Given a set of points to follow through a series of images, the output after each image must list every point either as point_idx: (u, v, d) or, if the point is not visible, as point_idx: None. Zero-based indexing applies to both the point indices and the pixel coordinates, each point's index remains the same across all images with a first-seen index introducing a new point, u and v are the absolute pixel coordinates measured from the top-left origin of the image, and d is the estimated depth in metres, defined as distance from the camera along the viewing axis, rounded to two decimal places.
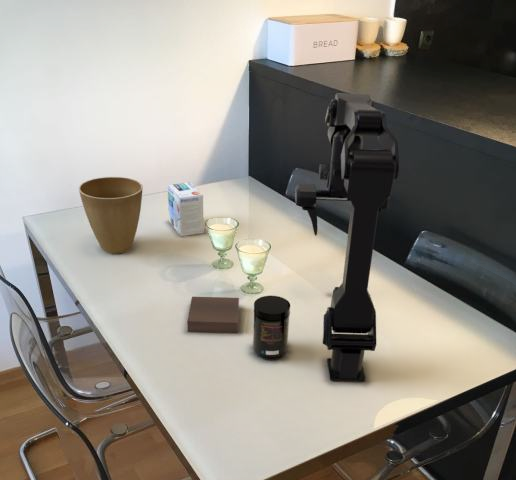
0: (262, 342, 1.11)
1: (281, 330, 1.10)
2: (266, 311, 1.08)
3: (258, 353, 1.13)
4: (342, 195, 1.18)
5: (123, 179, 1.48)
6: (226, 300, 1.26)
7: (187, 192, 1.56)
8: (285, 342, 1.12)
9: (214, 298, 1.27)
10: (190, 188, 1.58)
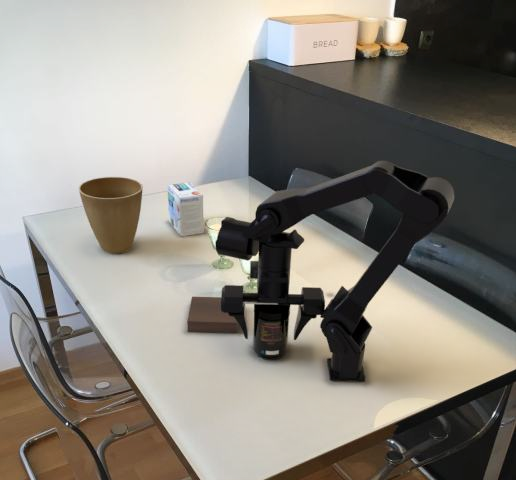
0: (262, 342, 1.11)
1: (281, 330, 1.10)
2: (266, 311, 1.08)
3: (258, 353, 1.13)
4: (271, 301, 1.06)
5: (123, 179, 1.48)
6: None
7: (187, 192, 1.56)
8: (285, 342, 1.12)
9: (214, 298, 1.27)
10: (190, 188, 1.58)
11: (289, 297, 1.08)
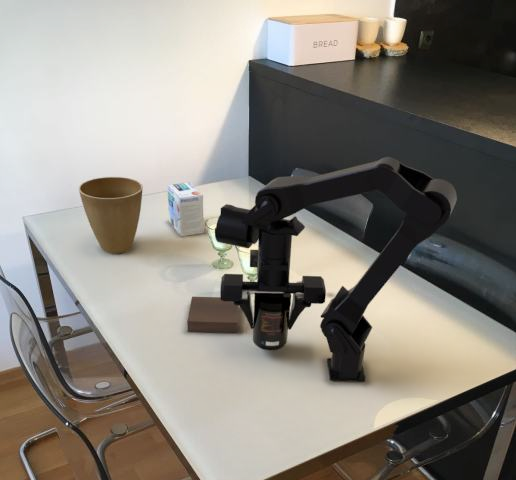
0: (262, 333, 1.10)
1: (281, 320, 1.09)
2: (266, 301, 1.06)
3: (258, 344, 1.12)
4: (271, 289, 1.05)
5: (123, 179, 1.48)
6: None
7: (187, 192, 1.56)
8: (285, 333, 1.11)
9: (214, 298, 1.27)
10: (190, 188, 1.58)
11: (289, 286, 1.07)
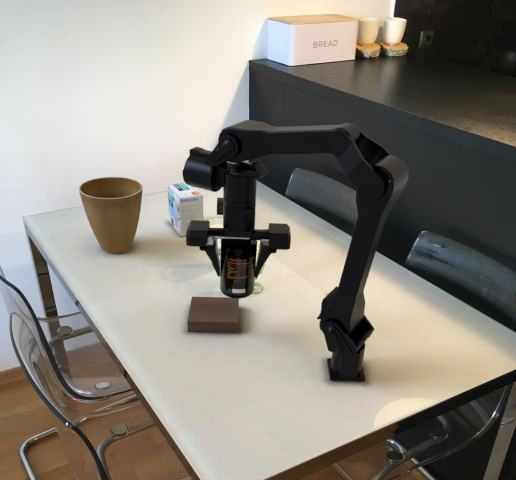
0: (229, 280, 1.10)
1: (247, 267, 1.09)
2: (232, 247, 1.07)
3: (225, 292, 1.12)
4: (236, 234, 1.05)
5: (123, 179, 1.48)
6: (226, 300, 1.26)
7: (187, 192, 1.56)
8: (252, 281, 1.12)
9: (214, 298, 1.27)
10: (190, 188, 1.58)
11: (255, 232, 1.08)
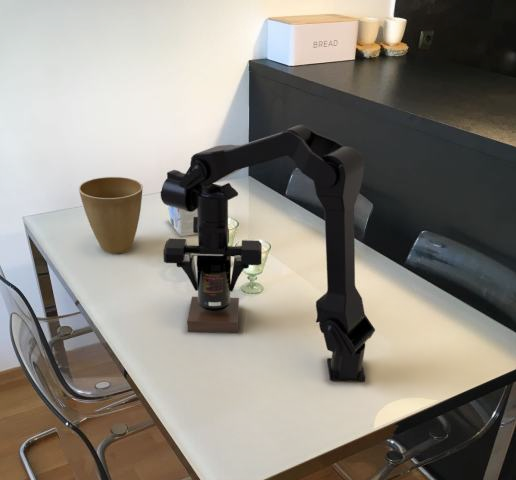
0: (205, 294, 1.18)
1: (222, 282, 1.16)
2: (207, 263, 1.14)
3: (202, 305, 1.20)
4: (210, 252, 1.13)
5: (123, 179, 1.48)
6: None
7: None
8: (227, 294, 1.19)
9: None
10: None
11: (228, 249, 1.15)
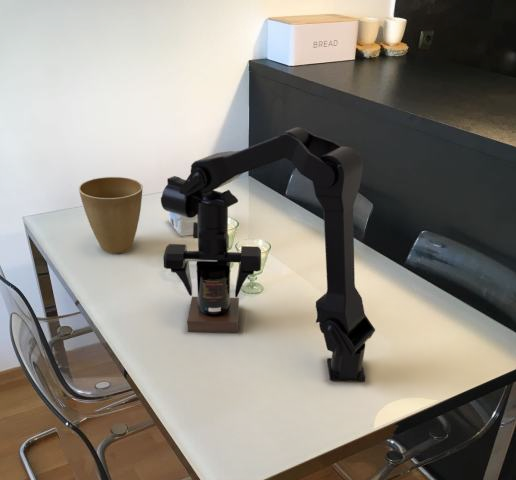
0: (205, 300, 1.18)
1: (222, 287, 1.17)
2: (206, 269, 1.15)
3: (202, 310, 1.20)
4: (210, 258, 1.13)
5: (123, 179, 1.48)
6: None
7: None
8: (227, 300, 1.20)
9: None
10: None
11: (228, 255, 1.16)
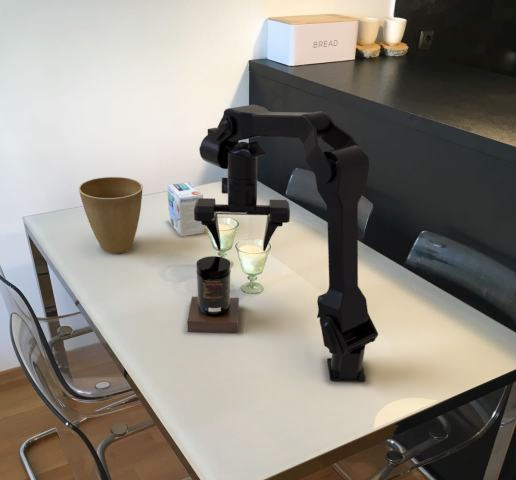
0: (205, 300, 1.18)
1: (222, 287, 1.17)
2: (206, 269, 1.15)
3: (202, 310, 1.20)
4: (240, 209, 1.16)
5: (123, 179, 1.48)
6: None
7: (187, 192, 1.56)
8: (227, 300, 1.20)
9: None
10: (190, 188, 1.58)
11: (257, 207, 1.18)
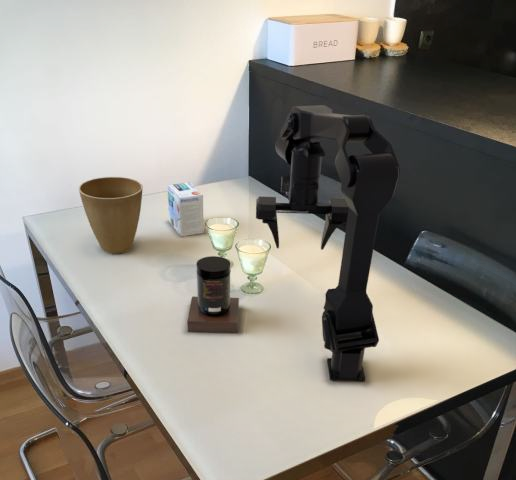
0: (205, 300, 1.18)
1: (222, 287, 1.17)
2: (206, 269, 1.15)
3: (202, 310, 1.20)
4: (302, 208, 1.16)
5: (123, 179, 1.48)
6: None
7: (187, 192, 1.56)
8: (227, 300, 1.20)
9: None
10: (190, 188, 1.58)
11: (318, 206, 1.18)
